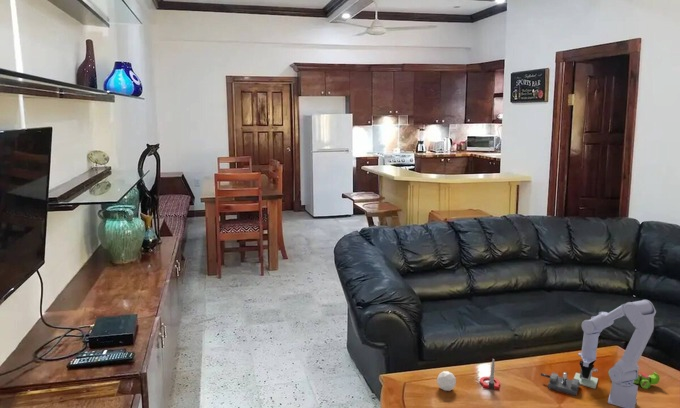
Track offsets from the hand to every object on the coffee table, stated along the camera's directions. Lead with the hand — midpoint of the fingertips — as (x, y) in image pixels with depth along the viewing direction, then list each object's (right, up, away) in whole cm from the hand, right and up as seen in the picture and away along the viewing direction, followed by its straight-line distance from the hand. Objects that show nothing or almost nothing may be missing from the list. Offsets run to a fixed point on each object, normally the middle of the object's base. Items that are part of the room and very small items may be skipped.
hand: (586, 375), depth 227 cm
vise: (-14, -3, -4) cm, 14 cm away
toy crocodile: (+20, -4, 0) cm, 20 cm away
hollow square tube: (0, -1, 0) cm, 1 cm away
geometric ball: (-63, -3, -9) cm, 63 cm away
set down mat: (0, -3, 0) cm, 3 cm away
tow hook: (-43, -3, -3) cm, 43 cm away
